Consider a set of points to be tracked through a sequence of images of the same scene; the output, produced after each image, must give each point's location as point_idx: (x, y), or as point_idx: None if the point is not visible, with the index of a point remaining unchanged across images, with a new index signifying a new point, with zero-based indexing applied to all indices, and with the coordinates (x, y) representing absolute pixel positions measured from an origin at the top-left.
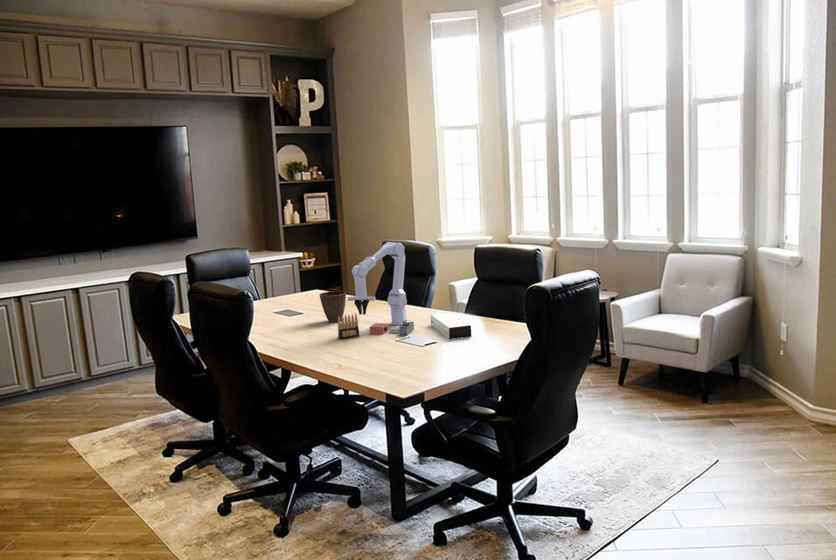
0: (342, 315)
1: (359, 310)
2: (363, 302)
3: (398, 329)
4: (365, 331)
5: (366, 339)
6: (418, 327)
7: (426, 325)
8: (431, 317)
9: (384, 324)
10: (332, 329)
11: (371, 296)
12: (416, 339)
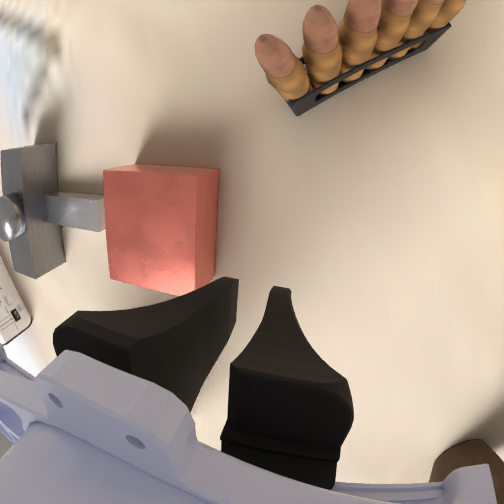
0: (433, 478)
1: (271, 305)
2: (89, 325)
3: (59, 201)
4: (278, 254)
5: (206, 25)
6: (47, 296)
7: (41, 320)
8: (5, 326)
9: (116, 248)
10: (500, 328)
11: (9, 438)
12: (6, 90)
